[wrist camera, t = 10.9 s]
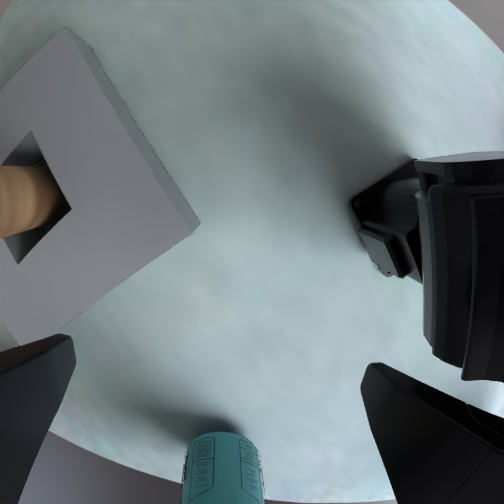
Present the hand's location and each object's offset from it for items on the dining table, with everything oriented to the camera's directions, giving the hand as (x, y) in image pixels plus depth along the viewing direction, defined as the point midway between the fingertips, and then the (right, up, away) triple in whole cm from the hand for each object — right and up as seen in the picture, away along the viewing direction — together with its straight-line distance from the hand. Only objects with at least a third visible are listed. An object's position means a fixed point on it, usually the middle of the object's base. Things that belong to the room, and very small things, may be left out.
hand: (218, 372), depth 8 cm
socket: (-13, +7, +10) cm, 18 cm away
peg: (-13, +7, +10) cm, 18 cm away
